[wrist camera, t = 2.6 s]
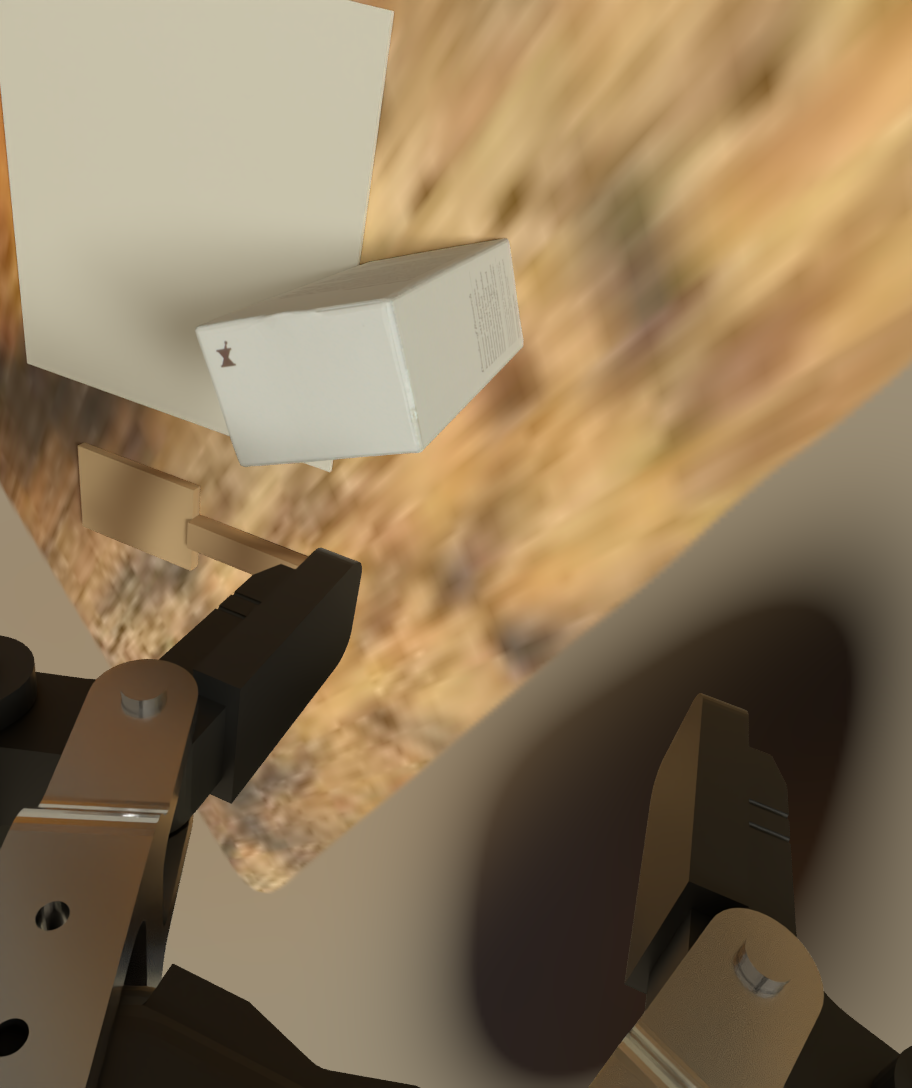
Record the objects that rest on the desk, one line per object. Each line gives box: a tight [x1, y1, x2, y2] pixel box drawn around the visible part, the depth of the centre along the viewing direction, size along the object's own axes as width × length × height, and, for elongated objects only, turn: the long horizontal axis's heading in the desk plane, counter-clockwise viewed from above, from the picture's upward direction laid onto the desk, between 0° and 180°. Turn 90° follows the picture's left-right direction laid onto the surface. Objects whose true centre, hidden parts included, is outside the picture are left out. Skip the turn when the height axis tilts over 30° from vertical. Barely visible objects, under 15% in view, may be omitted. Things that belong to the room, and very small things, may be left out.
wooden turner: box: [78, 443, 308, 575], centre depth 39 cm, size 15×5×1 cm, turn 78°
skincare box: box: [195, 238, 523, 467], centre depth 25 cm, size 6×4×12 cm
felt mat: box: [0, 0, 394, 472], centre depth 32 cm, size 17×18×1 cm
